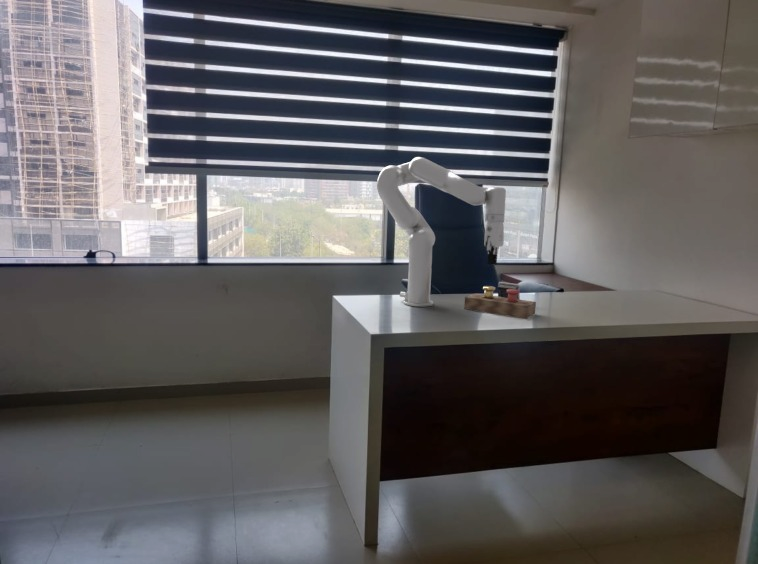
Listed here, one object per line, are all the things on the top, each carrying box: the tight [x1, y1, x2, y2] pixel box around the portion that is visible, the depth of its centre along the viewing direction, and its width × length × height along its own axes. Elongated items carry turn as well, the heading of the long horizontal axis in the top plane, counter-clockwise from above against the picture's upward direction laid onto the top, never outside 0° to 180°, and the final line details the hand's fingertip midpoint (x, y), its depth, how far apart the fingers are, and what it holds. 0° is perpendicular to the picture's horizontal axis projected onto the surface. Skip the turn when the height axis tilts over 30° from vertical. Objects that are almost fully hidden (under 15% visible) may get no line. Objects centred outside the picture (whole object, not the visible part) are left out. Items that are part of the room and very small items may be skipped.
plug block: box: [463, 292, 537, 320], centre depth 225 cm, size 26×11×5 cm, turn 58°
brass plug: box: [482, 285, 496, 299], centre depth 227 cm, size 5×5×6 cm
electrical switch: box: [497, 281, 521, 300], centre depth 242 cm, size 9×5×9 cm, turn 57°
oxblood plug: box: [506, 289, 520, 303], centre depth 222 cm, size 5×5×6 cm
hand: (492, 263), depth 225 cm, fingers closed
